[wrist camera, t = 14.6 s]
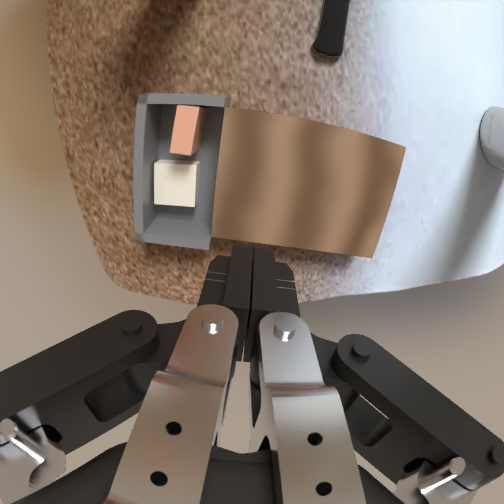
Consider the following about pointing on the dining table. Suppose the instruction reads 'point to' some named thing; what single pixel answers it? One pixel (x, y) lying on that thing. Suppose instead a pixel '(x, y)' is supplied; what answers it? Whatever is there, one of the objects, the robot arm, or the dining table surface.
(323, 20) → the kitchen cleaver
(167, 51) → the dining table surface
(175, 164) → the cream block
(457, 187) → the dining table surface
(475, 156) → the dining table surface
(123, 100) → the dining table surface
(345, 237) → the walnut board
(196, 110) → the terracotta tile
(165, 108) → the box
